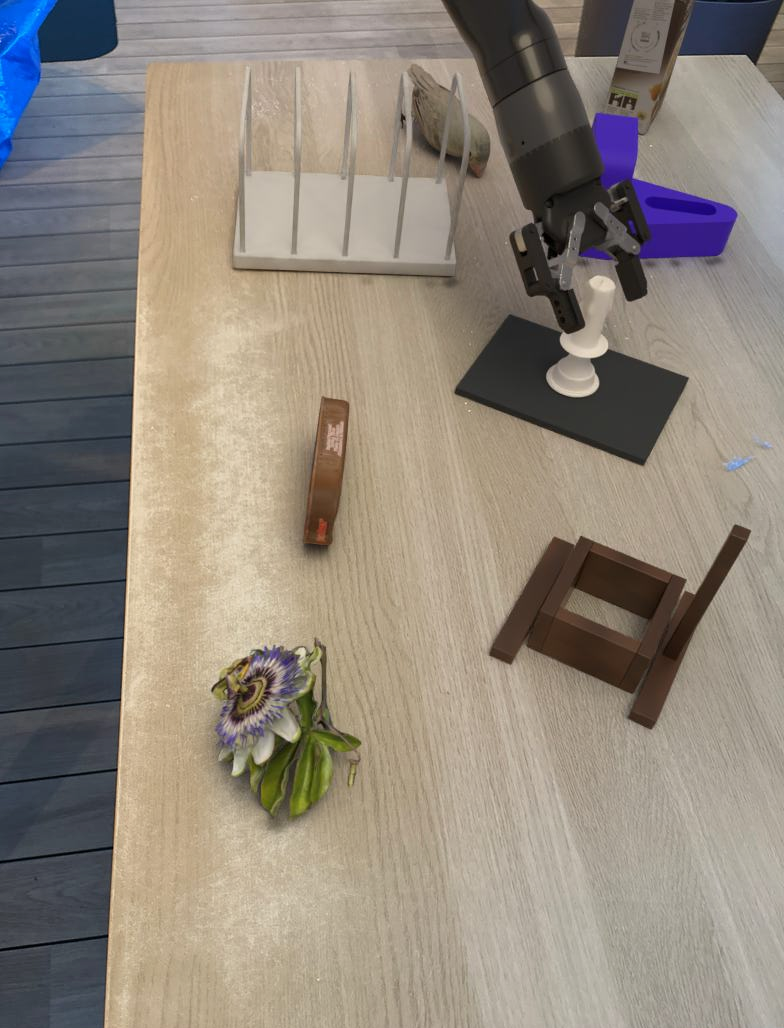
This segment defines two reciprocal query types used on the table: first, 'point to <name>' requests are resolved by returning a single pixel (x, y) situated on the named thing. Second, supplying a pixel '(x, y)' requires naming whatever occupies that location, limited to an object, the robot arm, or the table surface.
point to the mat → (591, 419)
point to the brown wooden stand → (625, 588)
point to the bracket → (659, 200)
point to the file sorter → (348, 205)
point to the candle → (584, 343)
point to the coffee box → (647, 59)
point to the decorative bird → (432, 116)
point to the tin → (326, 471)
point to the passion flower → (280, 726)
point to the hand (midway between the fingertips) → (607, 314)
